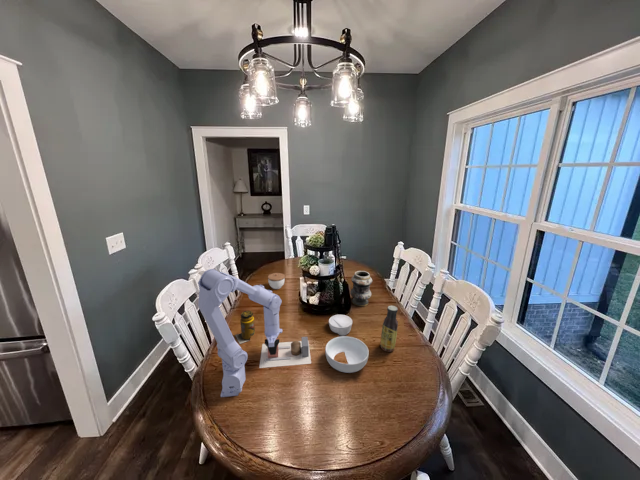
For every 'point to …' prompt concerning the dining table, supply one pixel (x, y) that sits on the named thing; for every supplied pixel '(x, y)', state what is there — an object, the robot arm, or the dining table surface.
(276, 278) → the lidded jar
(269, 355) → the pinkish red block
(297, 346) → the walnut
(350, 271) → the dining table surface
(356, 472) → the dining table surface
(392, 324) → the sauce bottle
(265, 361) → the press base
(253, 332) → the condiment
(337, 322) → the ramekin
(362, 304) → the apothecary jar
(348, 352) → the cereal bowl
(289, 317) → the dining table surface
